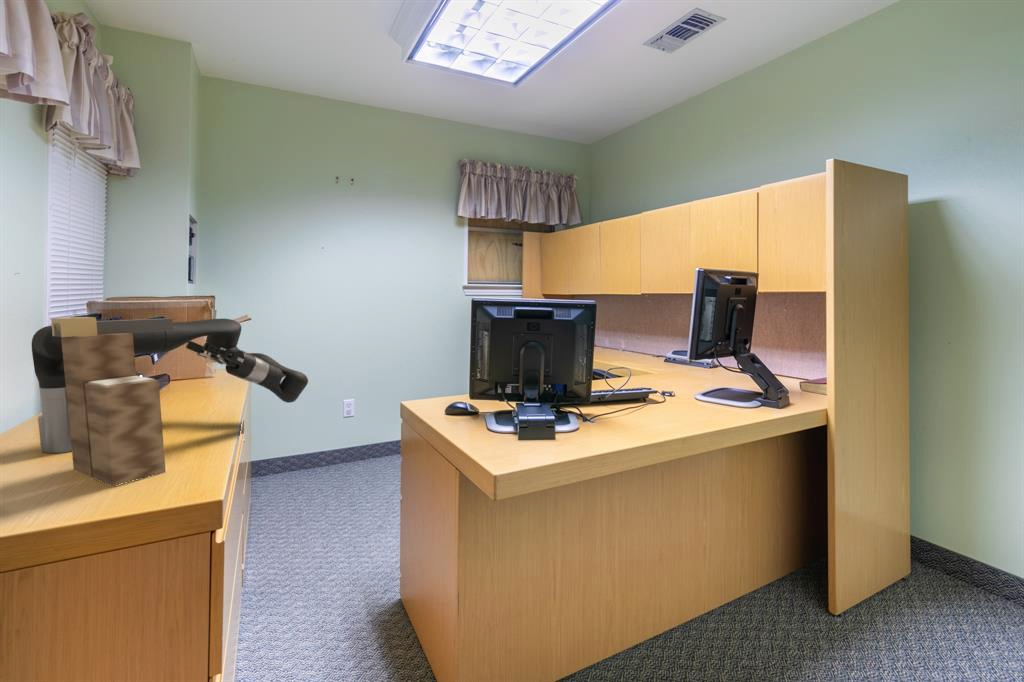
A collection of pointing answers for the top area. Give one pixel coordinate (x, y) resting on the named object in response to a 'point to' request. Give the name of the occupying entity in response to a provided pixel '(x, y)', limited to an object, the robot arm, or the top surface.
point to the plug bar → (106, 326)
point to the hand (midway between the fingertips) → (196, 344)
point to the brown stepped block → (111, 410)
